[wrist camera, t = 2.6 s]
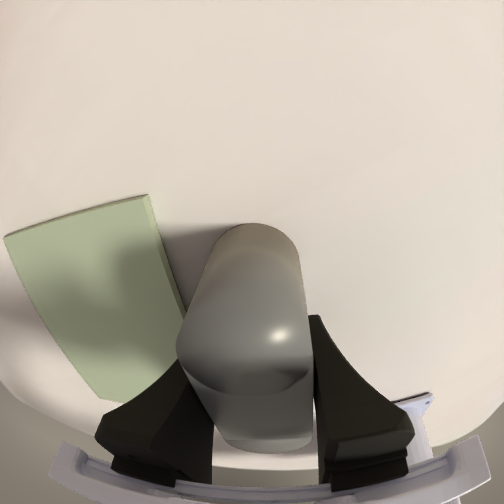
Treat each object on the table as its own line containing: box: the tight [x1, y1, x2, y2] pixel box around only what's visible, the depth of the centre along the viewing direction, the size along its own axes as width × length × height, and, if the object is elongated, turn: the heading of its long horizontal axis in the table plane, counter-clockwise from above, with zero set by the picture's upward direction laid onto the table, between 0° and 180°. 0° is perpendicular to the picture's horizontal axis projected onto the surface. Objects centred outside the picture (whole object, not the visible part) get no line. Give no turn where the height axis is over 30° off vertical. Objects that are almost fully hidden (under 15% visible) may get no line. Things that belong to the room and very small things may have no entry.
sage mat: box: [3, 194, 186, 403], centre depth 15 cm, size 16×12×1 cm
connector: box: [176, 223, 313, 454], centre depth 12 cm, size 12×4×6 cm, turn 9°
